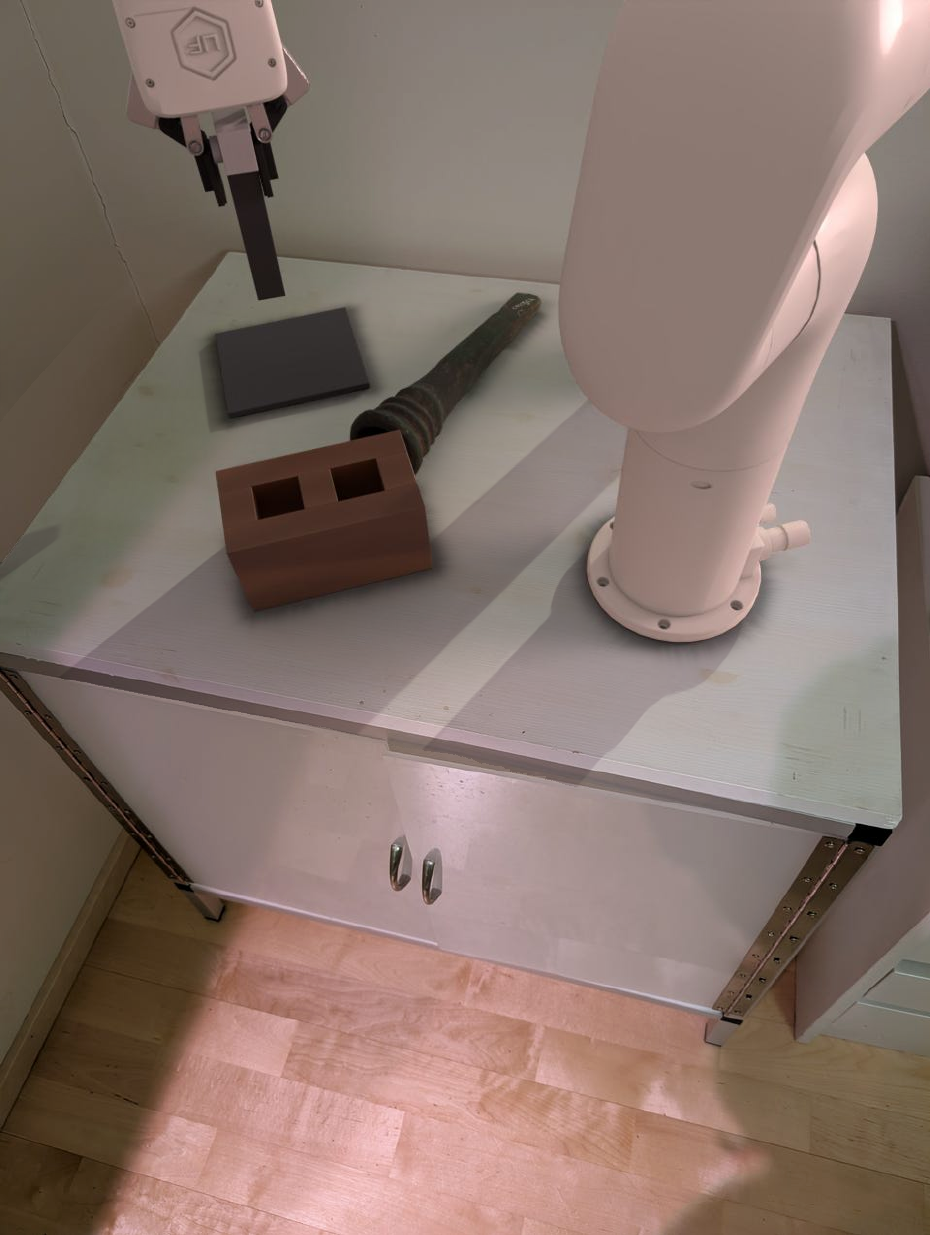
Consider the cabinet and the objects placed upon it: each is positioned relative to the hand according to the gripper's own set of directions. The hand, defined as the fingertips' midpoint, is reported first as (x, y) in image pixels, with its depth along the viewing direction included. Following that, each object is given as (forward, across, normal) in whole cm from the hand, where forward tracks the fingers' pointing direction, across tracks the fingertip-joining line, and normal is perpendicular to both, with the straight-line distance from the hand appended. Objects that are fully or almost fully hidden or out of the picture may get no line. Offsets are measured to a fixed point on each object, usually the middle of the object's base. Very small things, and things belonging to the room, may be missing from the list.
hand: (243, 191), depth 66 cm
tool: (+17, +14, -8) cm, 23 cm away
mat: (+16, 0, 0) cm, 16 cm away
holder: (+16, 0, -24) cm, 29 cm away
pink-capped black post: (+9, 0, 0) cm, 9 cm away
